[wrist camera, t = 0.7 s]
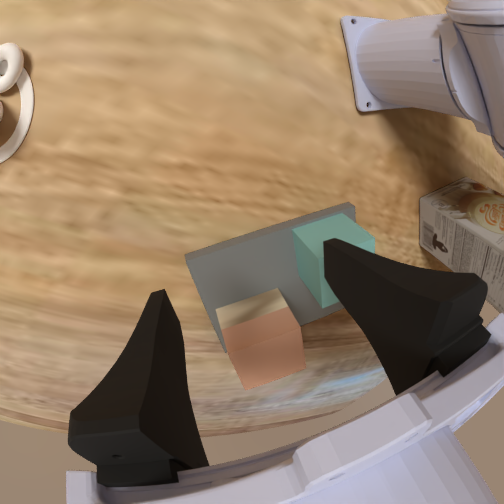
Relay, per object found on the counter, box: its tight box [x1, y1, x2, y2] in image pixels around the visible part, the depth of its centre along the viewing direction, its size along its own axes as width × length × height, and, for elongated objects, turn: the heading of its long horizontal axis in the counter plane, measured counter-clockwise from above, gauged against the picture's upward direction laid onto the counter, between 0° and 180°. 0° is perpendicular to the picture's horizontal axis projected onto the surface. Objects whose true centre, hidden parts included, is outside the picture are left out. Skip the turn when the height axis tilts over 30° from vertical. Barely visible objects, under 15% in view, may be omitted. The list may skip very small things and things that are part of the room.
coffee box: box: [419, 177, 504, 314], centre depth 21 cm, size 9×6×16 cm
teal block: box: [292, 213, 375, 309], centre depth 22 cm, size 4×4×4 cm
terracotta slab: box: [221, 306, 306, 390], centre depth 22 cm, size 6×6×2 cm
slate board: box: [185, 202, 356, 353], centre depth 25 cm, size 14×11×1 cm
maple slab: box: [216, 288, 288, 330], centre depth 25 cm, size 6×6×2 cm
